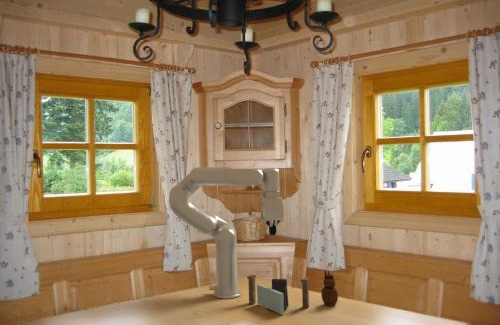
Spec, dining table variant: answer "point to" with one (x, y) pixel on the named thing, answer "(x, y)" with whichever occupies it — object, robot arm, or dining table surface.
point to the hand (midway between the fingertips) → (272, 234)
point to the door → (270, 298)
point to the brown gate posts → (304, 291)
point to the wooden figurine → (329, 290)
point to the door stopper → (281, 289)
